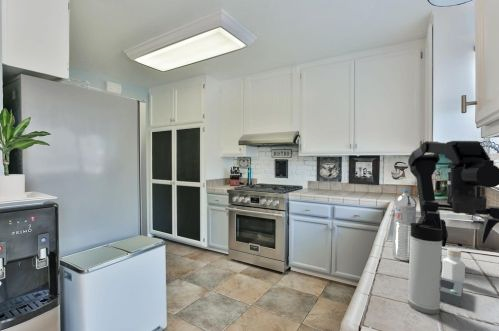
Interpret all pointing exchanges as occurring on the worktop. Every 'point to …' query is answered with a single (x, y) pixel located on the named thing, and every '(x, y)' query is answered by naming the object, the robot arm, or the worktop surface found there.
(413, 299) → the travel mug
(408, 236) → the water bottle
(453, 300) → the socket dock
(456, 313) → the worktop surface
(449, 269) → the pepper shaker
